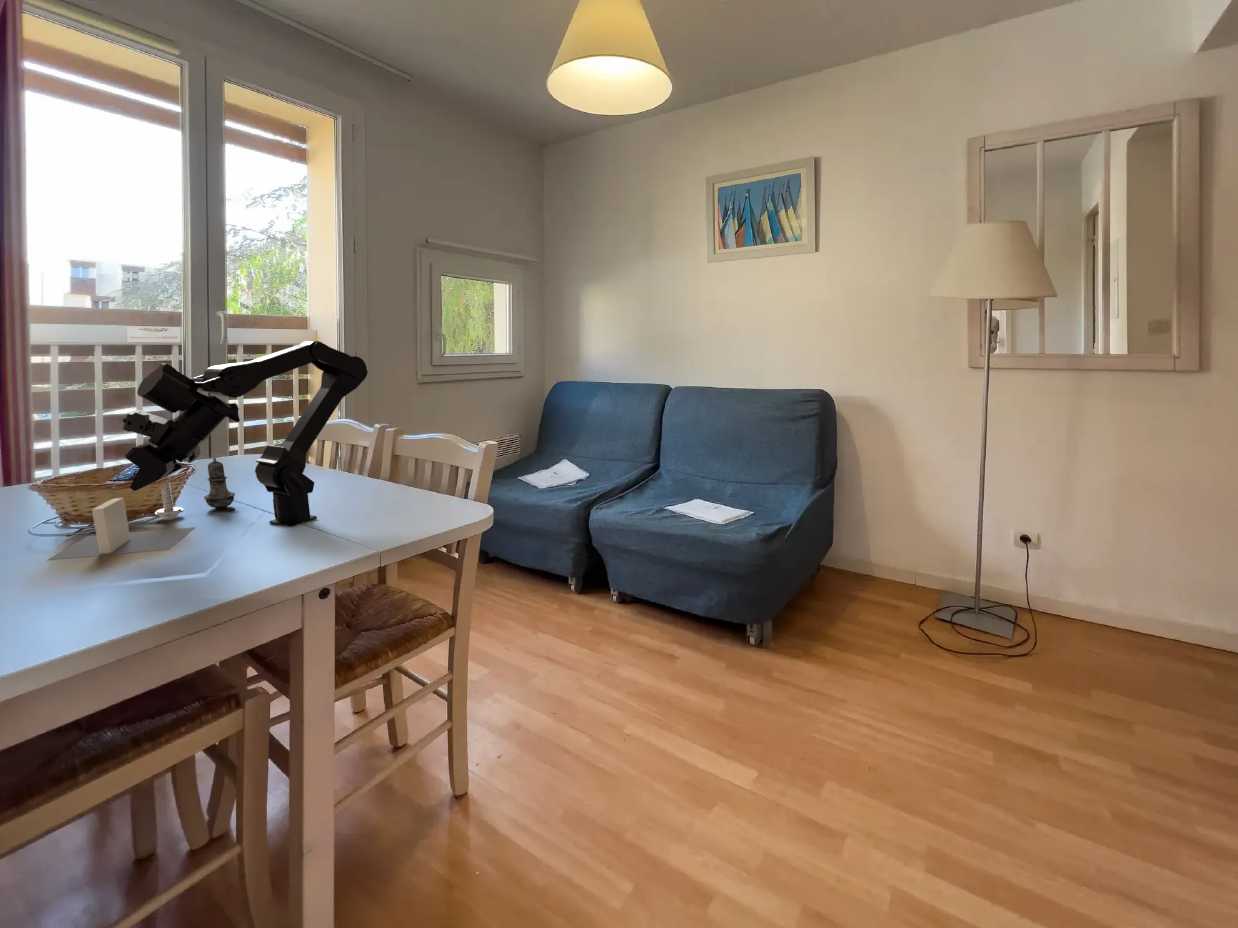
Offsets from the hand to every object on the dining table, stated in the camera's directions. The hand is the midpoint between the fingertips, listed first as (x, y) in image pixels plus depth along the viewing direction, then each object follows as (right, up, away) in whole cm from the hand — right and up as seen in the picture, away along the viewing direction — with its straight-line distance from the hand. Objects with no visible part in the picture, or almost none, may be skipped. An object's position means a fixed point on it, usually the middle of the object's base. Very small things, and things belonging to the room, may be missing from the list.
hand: (132, 488), depth 115 cm
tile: (-4, -10, +1) cm, 11 cm away
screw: (-6, -8, +19) cm, 21 cm away
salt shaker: (0, -6, +26) cm, 27 cm away
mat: (-3, -10, +3) cm, 12 cm away
